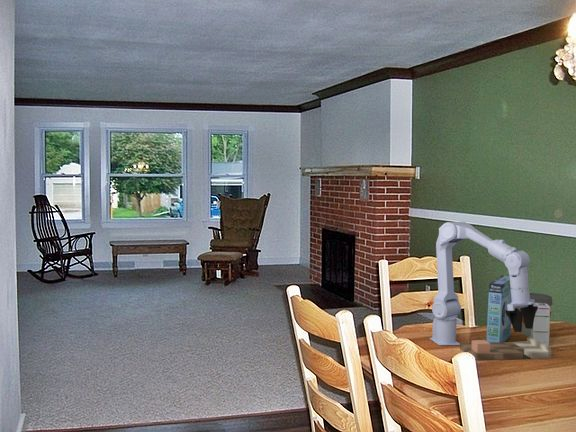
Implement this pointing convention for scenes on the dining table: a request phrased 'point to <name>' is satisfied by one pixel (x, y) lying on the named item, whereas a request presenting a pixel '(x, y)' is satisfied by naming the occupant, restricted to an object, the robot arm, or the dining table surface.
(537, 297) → the reusable coffee cup
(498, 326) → the gum box
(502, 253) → the robot arm
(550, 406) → the dining table surface
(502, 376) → the dining table surface
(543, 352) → the board
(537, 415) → the dining table surface
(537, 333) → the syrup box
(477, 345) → the block
